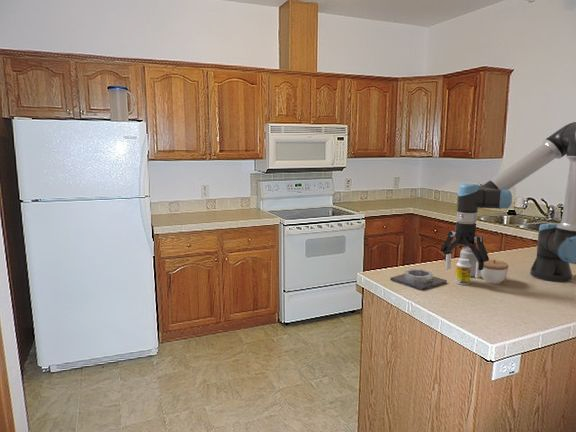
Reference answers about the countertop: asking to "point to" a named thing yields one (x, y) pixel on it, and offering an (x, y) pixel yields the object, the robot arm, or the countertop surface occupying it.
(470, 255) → the can
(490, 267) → the lidded jar
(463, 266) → the supplement bottle
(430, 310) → the countertop surface
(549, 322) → the countertop surface
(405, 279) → the collar
